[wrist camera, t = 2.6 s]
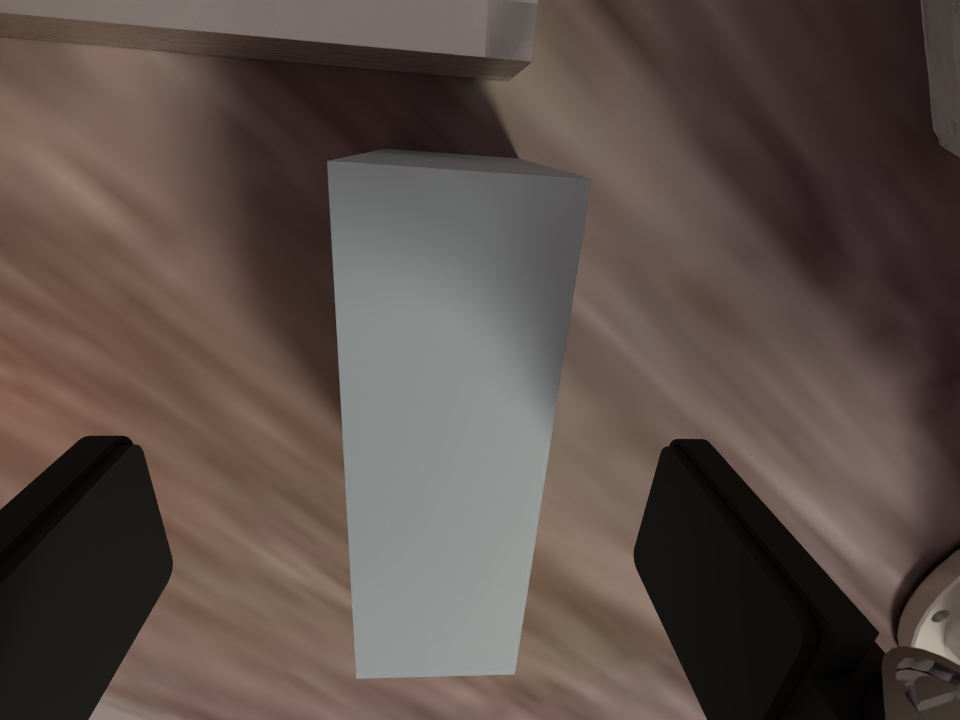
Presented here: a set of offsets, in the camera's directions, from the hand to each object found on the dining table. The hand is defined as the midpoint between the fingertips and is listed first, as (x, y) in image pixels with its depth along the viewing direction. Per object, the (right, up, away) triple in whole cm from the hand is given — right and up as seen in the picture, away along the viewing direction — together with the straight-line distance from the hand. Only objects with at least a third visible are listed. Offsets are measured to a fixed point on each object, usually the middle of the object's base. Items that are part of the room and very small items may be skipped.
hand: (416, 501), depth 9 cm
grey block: (0, +3, +8) cm, 9 cm away
